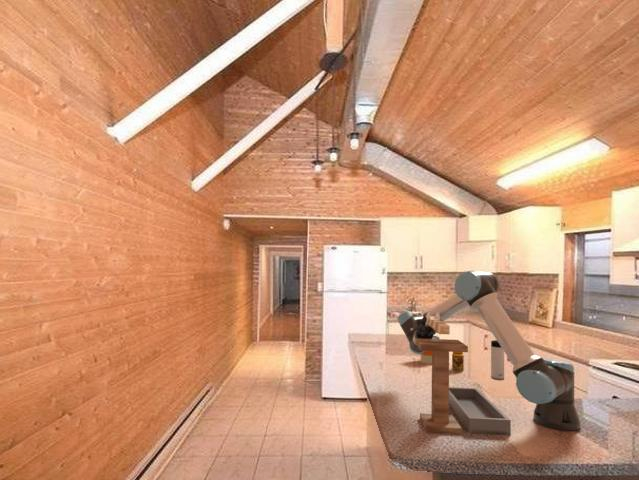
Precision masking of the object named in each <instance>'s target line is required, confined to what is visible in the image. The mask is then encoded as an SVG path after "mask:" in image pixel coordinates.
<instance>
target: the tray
mask: <svg viewBox="0 0 639 480" xmlns="http://www.w3.org/2000/svg"><path fill="white" fill-rule="evenodd" d="M449 408H450V409H451V410H452V411H453V413H454V415H456V417H457V418H458V419H459V421H460V422H461V424H462V425H463V427H464V428H465V430H467V432H468V433H469V434H482V435H483V434H484V435H485V434H486V435H506V436H511V431H512V430H511V419H510V418H509V417H508V416H507V415H506V414H504V412H503V411H502V410H501V409H499V408H498V407H497V405H495V404H494V403H493V402H492V401H491V400H490V399H489V398H488V397H487V396H485V395H484V394H483V393H482V392H481V391H480V390H479V389H478V388H473V387H451V386H449Z"/></svg>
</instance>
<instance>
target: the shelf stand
mask: <svg viewBox="0 0 639 480" xmlns="http://www.w3.org/2000/svg"><path fill="white" fill-rule="evenodd" d="M415 344H416V345H417V346H418V347H419V348H420V350H421V351H432V364H431V409H430V410H431V413H419V421H421V422H420V423H421V424H422V427H423V428H424V431H425V433H426V434H427V433H428V434H429V433H430V434H446V435H447V434H448V435H451V434H452V435H462V434H463V428H462V427H461V425H460V424H459V422H458V421H457V420H456V417H454V415H453V414H450V406H449V387H450V370H449V368H450V353H451V352H452V353H453V352H463V353H468V352H469V346H468V345H466V344H465V343H463V342H462V341H461V340H459V339H443V338H441V339H440V338H439V339H419V338H415Z"/></svg>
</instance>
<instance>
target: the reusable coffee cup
mask: <svg viewBox="0 0 639 480" xmlns="http://www.w3.org/2000/svg"><path fill="white" fill-rule="evenodd" d="M432 339H440V337H439V336H437V335H433V338H432ZM419 355H420V362H421V363H422V364H427V365H432V351H424V352H423V353H422V354H419Z"/></svg>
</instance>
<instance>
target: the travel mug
mask: <svg viewBox="0 0 639 480" xmlns="http://www.w3.org/2000/svg"><path fill="white" fill-rule="evenodd" d="M490 344H491V345H490V378H491V380H494V381H504V380H505V352H504V350H503V349H502V347H501V346H500V344H499V343H498V341H497V340H496V339H495V340H491V341H490Z"/></svg>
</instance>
